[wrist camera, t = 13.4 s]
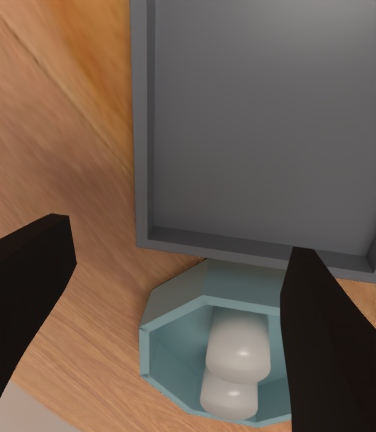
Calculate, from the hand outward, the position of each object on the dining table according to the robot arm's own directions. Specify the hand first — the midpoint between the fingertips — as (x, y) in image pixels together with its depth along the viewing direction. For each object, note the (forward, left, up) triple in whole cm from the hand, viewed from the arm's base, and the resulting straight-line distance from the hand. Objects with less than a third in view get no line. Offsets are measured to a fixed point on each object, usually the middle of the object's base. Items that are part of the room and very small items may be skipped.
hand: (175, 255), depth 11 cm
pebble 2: (-3, +17, -9) cm, 19 cm away
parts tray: (-4, -2, -9) cm, 10 cm away
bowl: (-4, +14, -9) cm, 18 cm away
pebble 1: (-3, +12, -9) cm, 15 cm away
